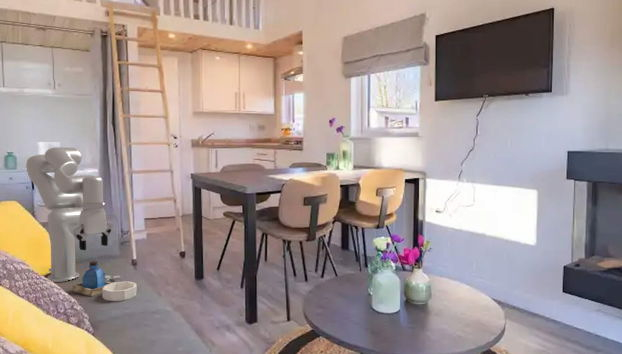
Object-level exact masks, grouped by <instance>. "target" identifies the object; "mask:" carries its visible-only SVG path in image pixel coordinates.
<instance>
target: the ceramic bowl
mask: <svg viewBox="0 0 622 354" xmlns="http://www.w3.org/2000/svg"><path fill="white" fill-rule="evenodd" d="M137 285H138V284H137V283H136V282H133V281H128V280H127V281H115V282H111V284H108V285H105V286H104V288H103V293H102V299H103V300H105V301H107V300H108V302H123V301H127V300H131V299H133V298H135V297H136V295H137V291H138V290H137V287H138V286H137Z"/></svg>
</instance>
